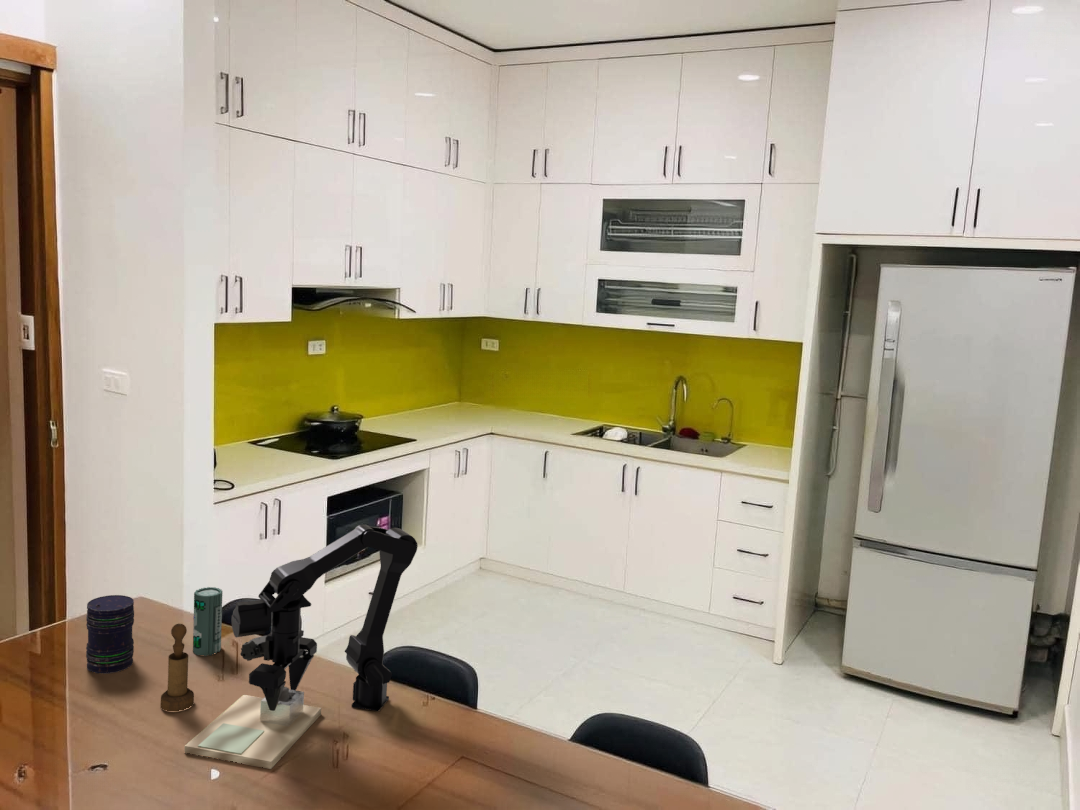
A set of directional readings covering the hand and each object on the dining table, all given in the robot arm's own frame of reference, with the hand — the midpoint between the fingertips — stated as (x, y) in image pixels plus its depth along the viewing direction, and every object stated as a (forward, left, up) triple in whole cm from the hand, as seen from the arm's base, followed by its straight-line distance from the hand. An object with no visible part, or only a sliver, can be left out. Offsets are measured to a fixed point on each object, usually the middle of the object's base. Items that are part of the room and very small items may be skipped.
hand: (283, 699), depth 179 cm
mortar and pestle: (+24, 0, -5) cm, 25 cm away
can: (+33, -26, -5) cm, 42 cm away
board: (+3, +5, -5) cm, 8 cm away
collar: (0, 0, -4) cm, 4 cm away
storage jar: (+49, -12, -5) cm, 51 cm away
